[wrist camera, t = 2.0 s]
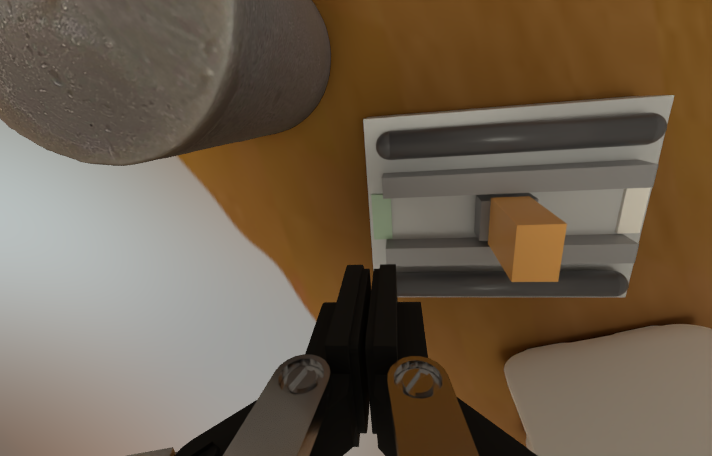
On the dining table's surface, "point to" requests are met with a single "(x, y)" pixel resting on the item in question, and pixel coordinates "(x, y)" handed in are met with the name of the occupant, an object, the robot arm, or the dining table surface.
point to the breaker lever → (521, 235)
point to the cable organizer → (618, 394)
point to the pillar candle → (157, 73)
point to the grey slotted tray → (513, 191)
